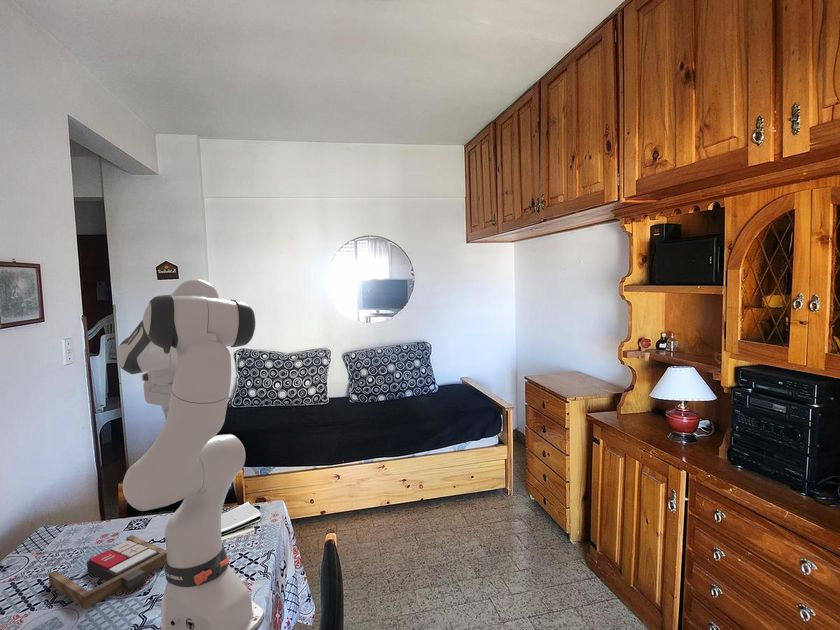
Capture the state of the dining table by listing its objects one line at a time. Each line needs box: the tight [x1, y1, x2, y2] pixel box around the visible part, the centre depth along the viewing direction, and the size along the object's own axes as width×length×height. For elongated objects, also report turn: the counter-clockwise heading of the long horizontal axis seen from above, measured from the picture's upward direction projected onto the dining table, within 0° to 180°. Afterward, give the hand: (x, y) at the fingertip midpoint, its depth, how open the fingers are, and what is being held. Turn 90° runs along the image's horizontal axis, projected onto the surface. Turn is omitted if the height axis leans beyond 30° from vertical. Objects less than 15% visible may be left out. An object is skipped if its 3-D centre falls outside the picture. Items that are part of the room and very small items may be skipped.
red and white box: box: [86, 540, 159, 582], centre depth 121 cm, size 11×4×15 cm
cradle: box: [48, 534, 167, 610], centre depth 117 cm, size 22×20×3 cm
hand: (170, 420), depth 137 cm, fingers closed
